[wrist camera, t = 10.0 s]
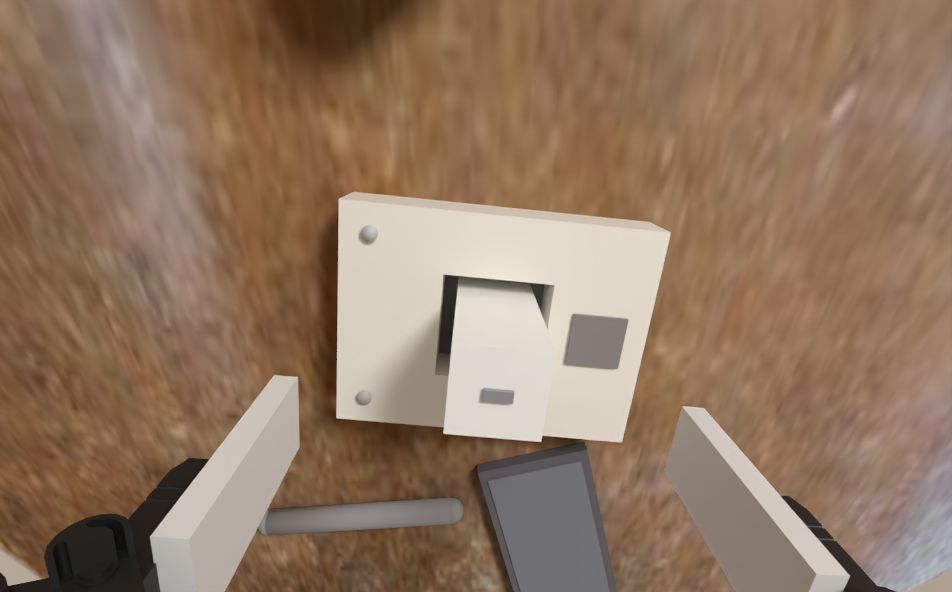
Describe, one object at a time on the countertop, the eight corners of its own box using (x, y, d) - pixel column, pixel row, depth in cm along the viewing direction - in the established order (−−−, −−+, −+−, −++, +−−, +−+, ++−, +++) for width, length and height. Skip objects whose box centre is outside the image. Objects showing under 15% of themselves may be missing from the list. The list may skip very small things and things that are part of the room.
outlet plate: (349, 390, 29) (335, 420, 26) (353, 191, 25) (337, 199, 22) (607, 413, 30) (622, 444, 27) (649, 222, 26) (672, 233, 23)
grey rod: (266, 523, 33) (255, 542, 31) (261, 504, 32) (250, 522, 31) (464, 510, 32) (463, 529, 31) (462, 491, 32) (461, 509, 30)
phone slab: (523, 618, 35) (524, 630, 34) (477, 464, 31) (477, 474, 30) (617, 600, 35) (621, 612, 34) (584, 442, 30) (587, 450, 30)
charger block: (452, 342, 28) (443, 436, 19) (458, 276, 27) (451, 345, 18) (520, 348, 28) (541, 445, 19) (529, 284, 27) (557, 355, 18)
